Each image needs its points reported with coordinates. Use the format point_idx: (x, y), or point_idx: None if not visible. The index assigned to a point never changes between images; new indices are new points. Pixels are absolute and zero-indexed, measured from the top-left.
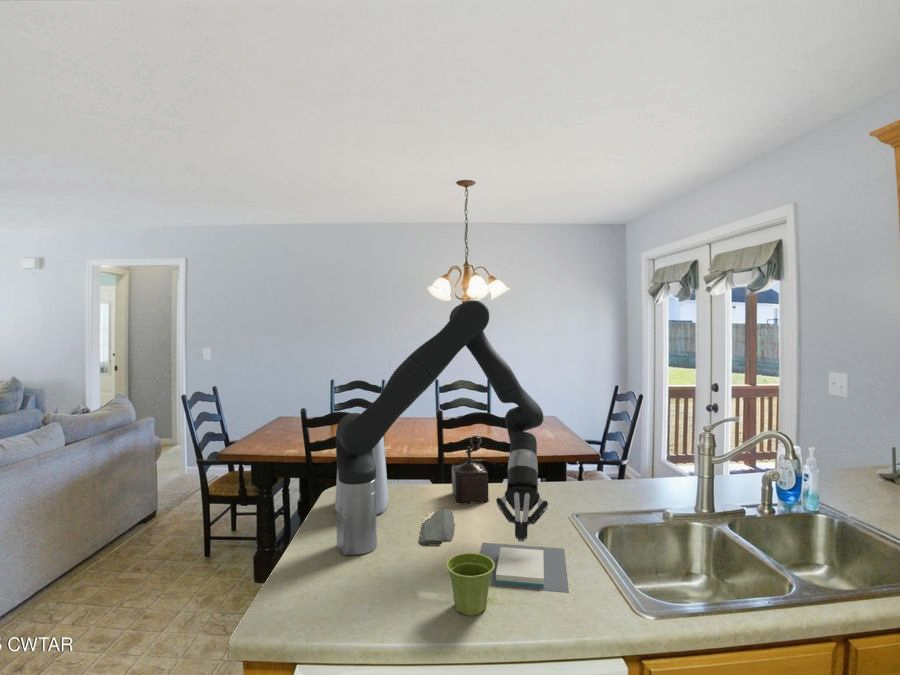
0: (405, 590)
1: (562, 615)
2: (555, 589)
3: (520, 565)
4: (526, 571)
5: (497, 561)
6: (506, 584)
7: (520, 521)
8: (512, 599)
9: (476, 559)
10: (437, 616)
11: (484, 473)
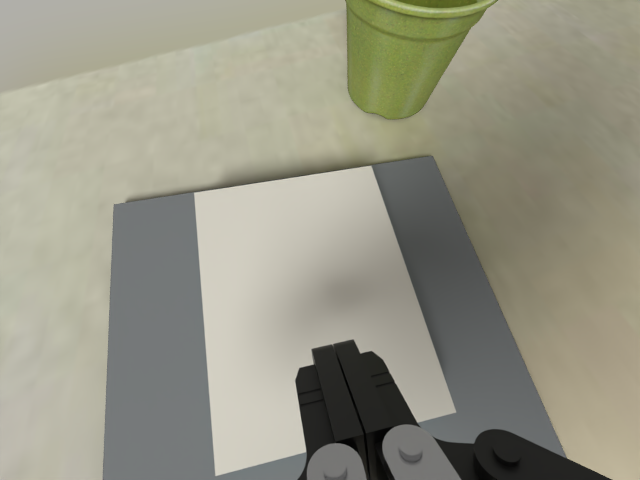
0: (575, 104)
1: (147, 124)
2: (161, 209)
3: (302, 257)
4: (267, 218)
5: None
6: None
7: (382, 470)
8: (295, 148)
9: (432, 25)
10: None
11: None
